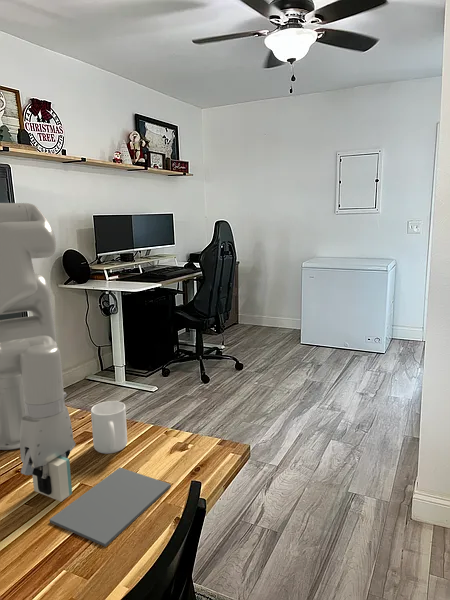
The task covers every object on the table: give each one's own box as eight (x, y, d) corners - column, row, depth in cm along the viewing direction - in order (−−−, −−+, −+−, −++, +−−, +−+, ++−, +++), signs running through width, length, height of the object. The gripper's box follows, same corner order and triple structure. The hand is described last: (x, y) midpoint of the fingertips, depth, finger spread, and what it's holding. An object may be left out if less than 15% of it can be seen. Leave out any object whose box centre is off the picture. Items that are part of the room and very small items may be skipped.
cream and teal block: (34, 490, 97) (30, 456, 95) (45, 483, 99) (42, 449, 98) (61, 501, 93) (57, 466, 91) (72, 493, 95) (69, 458, 94)
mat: (49, 522, 87) (49, 519, 87) (120, 469, 104) (119, 467, 104) (105, 546, 80) (105, 543, 80) (170, 486, 97) (170, 484, 97)
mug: (130, 459, 108) (128, 418, 106) (94, 465, 106) (92, 424, 104) (125, 435, 120) (123, 399, 118) (93, 440, 117) (90, 403, 115)
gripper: (63, 388, 101) (69, 464, 105) (-4, 418, 87) (6, 504, 90) (88, 394, 97) (93, 472, 101) (23, 426, 83) (32, 515, 87)
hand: (52, 486), depth 96 cm, fingers closed on cream and teal block, 3 cm apart
